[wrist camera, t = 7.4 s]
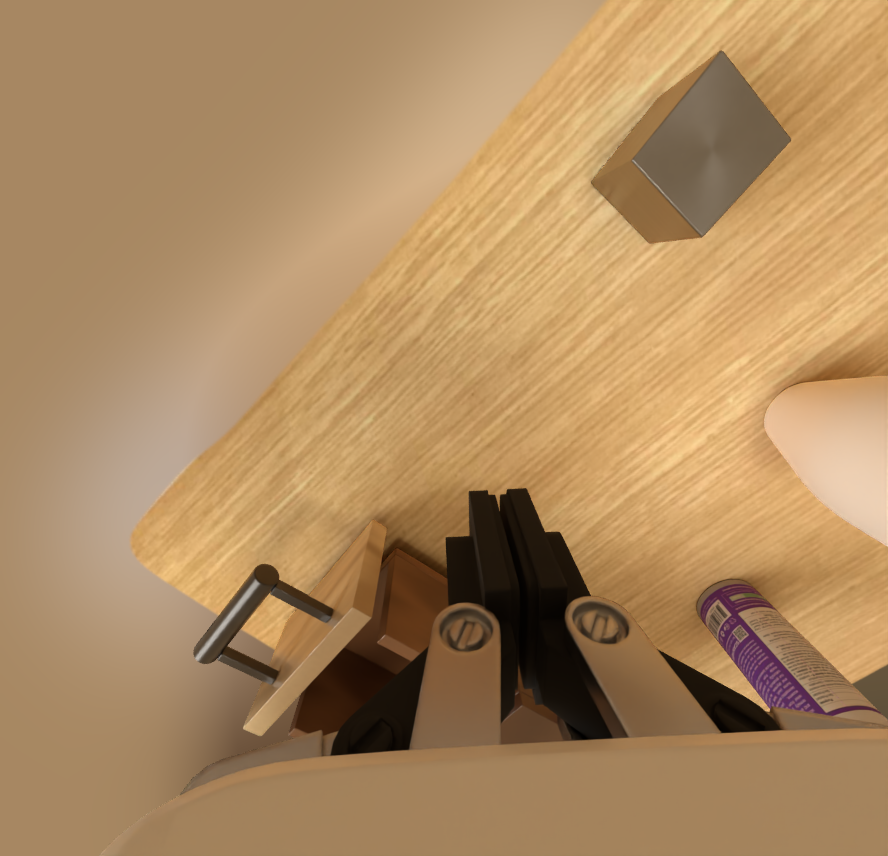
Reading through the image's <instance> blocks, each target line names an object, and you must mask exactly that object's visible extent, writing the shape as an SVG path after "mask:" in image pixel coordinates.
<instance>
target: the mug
mask: <svg viewBox="0 0 888 856" xmlns="http://www.w3.org/2000/svg"><path fill="white" fill-rule="evenodd" d="M764 428H765V431H766V433H767V435H768V437H769V438H770V439H771V441H772V442H773V443H774V445H775V446H776V447H777V449H778V450H779V452H780V453H781V454H782V456H783V457H784V458H785V460H786V461H787V462H788V464H789V465H790V466H791V468H792V469H793V471H794V472H795V473H796V475H797V476H798V477H799V479H800V480H801V481H802V482H803V484H804V485H805V486H806V487H807V488H808V489H809V490H810V492H811V493H812V494H813V495H814V496H815V497H816V498H817V499H818V500H819V501H820V502H822V503H823V504H824V505H825V506H826V507H827V508H829V509H830V510H831V511H833V512H834V513H835V514H837V515H838V516H839V517H841V518H842V519H844V520H845V521H847V522H848V523H850V524H851V525H853V526H855V527H856V528H858V529H859V530H861V531H863V532H864V533H866V534H868V535H869V536H871V537H872V538H874V539H876V540H877V541H879V542H881V543H882V544H884V545H886V546H887V547H888V375H886V376H871V377H860V378H849V379H837V380H826V381H815V382H805V383H799V384H796V385H793V386H791V387H789V388H787V389H785V390H784V391H782V392H781V393H780V394H779V395H777V396H776V397H775V399H774V400H773V401H772V402H771V404H770V405H769V407H768V409H767V411H766V414H765V417H764Z"/></svg>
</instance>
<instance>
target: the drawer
mask: <svg viewBox="0 0 888 856" xmlns="http://www.w3.org/2000/svg"><path fill="white" fill-rule="evenodd" d="M386 532H387V528H386V527H385V526H383V525H381V524H380V523H378V522H377V521H375V520H372V521H371V522H370V524H369V525H368V526H367V527H366V528H365V529H364V531H363V532H362V533H361V534H360V535H359V537H358V538H357V539H356V540H355V541H354V542H353V544H352V545H351V546H350V547H349V548H348V550H347V551H346V552H345V553H344V554H343V555H342V557H341V558H340V559H339V560H338V561H337V563H336V564H335V565H334V566H333V567H332V568H331V570H330V571H329V572H328V573H327V574H326V576H325V577H324V578H323V579H322V580H321V581H320V583H319V584H318V585H317V586H316V587H315V589H314V590H313V591H312V592H311V593H310V594H309V595H307V594H305V593H303V592H301V591H299V590H297V589H296V588H294V587H292V586H290V585H288V584H286V583H285V582H283V581H281V580H279V573H278V571H277V570H276V569H275V568H274V567H273V566H271V565H268V564H261V565H259V566H257V567H256V568H255V569H254V570H253V572H252V573H251V574H250V576H249V577H248V578H247V580H246V581H245V582H244V583H243V585H242V586H241V587H240V589H239V590H238V591H237V593H236V594H235V595H234V596H233V598H232V599H231V600H230V602H229V603H228V604H227V606H226V607H225V608H224V609H223V611H222V612H221V613H220V615H219V616H218V617H217V619H216V620H215V621H214V623H213V624H212V625H211V626H210V628H209V629H208V630H207V632H206V633H205V634H204V636H203V637H202V638H201V639H200V641H199V642H198V643H197V645H196V646H195V648H194V657H195V659H196V660H197V661H198V662H200V663H202V664H209V663H212V662H214V661H215V660H216V659H217V658H218V661H221V662H223V663H225V664H227V665H229V666H231V667H233V668H236V669H238V670H240V671H242V672H244V673H246V674H249V675H250V676H253V677H255V678H257V679H259V680H261V681H262V683H261V685H260V688H259V690H258V693H257V695H256V698H255V700H254V703H253V705H252V708H251V710H250V713H249V715H248V717H247V719H246V722H245V724H244V727H243V729H245V730H247V731H249V732H252V733H254V734H256V735H259V736H262V735H263V734H264V732H266V730H267V729H268V728H269V727H270V726H271V725H272V724H273V723H274V722H275V721H276V720H277V719H278V717H280V715H281V714H282V713H283V712H284V711H285V710H286V709H287V708H288V707H289V706H290V705H291V703H293V702H294V700H295V699H296V698H297V697H298V696H299V695H300V694H301V695H300V699H299V702H298V705H297V708H296V712H295V715H294V718H293V721H292V724H291V727H290V731H289V736H292V737H294V738H296V737H299V736H303V735H306V734H309V733H313V732H316V731H319V730H322V732H323V736H324V735H327V734H330V733H334V732H337V731H339V729H340V728H341V726H342V725H343V724H344V723H345V722H346V721H347V720H348V718H349V717H350V716H352V715H353V714H354V713H355V712H356V711H357V710H358V709H359V708H360V707H362V706H363V705H364V704H365V703H366V702H367V701H368V700H369V699H370V698H372V697H373V696H374V695H375V694H376V693H377V692H378V691H379V690H380V689H382V688H383V687H384V686H385V685H386V684H387V683H388V682H389V681H390V680H392V679H393V678H394V677H395V676H396V675H397V674H398V673H399V672H400V671H402V670H403V669H404V668H405V667H406V666H407V665H408V664H409V663H410V662H412V661H413V660H414V659H415V658H416V657H417V656H418V655H419V654H420V653H422V652H423V651H424V650H425V649H426V648H427V647H428V646H429V642H430V637H431V632H432V626H433V624H434V621H435V618H436V617H437V616H438V615H439V613H440V612H441V611H442V610H444V609H446V608H447V607H449V606H448V582H447V578H446V577H444V576H442V575H441V574H439V573H437V572H436V571H434V570H432V569H431V568H429V567H428V566H426V565H424V564H423V563H421V562H419V561H418V560H416V559H415V558H413V557H411V556H410V555H408V554H406V553H405V552H403V551H401V550H400V549H398V548H396V549H395V550H394V551H393V552H392V553H391V554H390V555H389V556H388V558H387V559H386V560H385V561H384V562H383V563H382V564H381V561H382V555H383V549H384V544H385V538H386ZM271 590H272V591H271ZM270 592H271V593H270ZM269 593H270V594H271V595H273V596H275V597H277V598H279V599H281V600H282V601H284V602H286V603H288V604H290V605H292V606H294V607H296V608H298V609H297V610H296V611H295V612H294V613H293V615H292V616H291V617H290V618H289V619H288V621H287V622H286V625H285V627H284V630H283V632H282V635H281V637H280V639H279V642H278V644H277V647H276V649H275V651H274V654H273V656H272V659H271V661H270V664H269V666H267V665H265V664H263V663H261V662H259V661H257V660H255V659H253V658H251V657H249V656H246V655H244V654H242V653H240V652H238V651H236V650H234V649H232V648H230V647H228V646H227V645H228V644H229V643H230V642H231V640H232V639H233V638H234V636H235V635H236V634H237V633H238V631H239V630H240V629H241V628H242V627H243V625H244V624H245V623H246V622H247V620H248V619H249V618H250V617H251V615H252V614H253V613H254V612H255V610H256V609H257V608H258V607H259V605H260V604H261V603H262V602H263V600H264V599H265V598H266V597H267V595H268V594H269ZM218 656H219V657H218Z"/></svg>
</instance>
